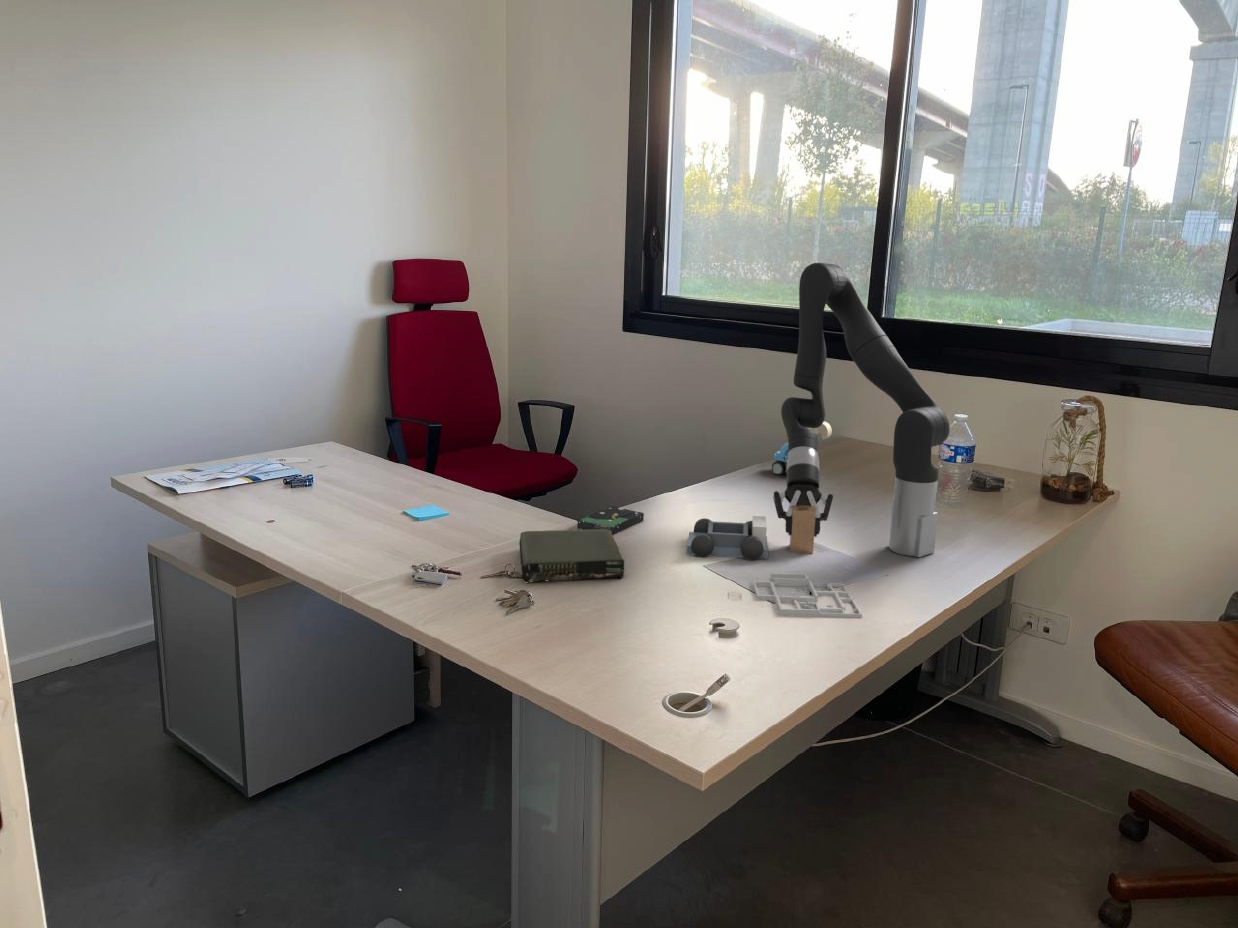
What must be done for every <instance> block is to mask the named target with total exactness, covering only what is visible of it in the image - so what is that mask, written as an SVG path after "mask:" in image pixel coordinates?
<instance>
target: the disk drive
mask: <svg viewBox="0 0 1238 928" xmlns="http://www.w3.org/2000/svg"><path fill="white" fill-rule="evenodd" d="M644 516H645V514H644V512H641V511H635V510H631V509H627V508H624V509H619V507H618V506H613V505H610V506H607V507H604V508H602V509H600V510H598V511H595V512H593V513H590V514H588V515H586V516H582V517H581V518H578V519H577V522H578V523H577V522H576V523H577V530H594V529H605V530H610V531H612V535H613V536H614V534H615V535H617V534H619V533H621V532H624V531H625V530H627V529H630V528H632V527H634V526H636V525H639V524H640V523H643V522H644V520H645V519H644V518H645V517H644ZM583 521H584V522H583ZM579 522H580V523H579ZM618 532H619V533H618Z"/></svg>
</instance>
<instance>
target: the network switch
mask: <svg viewBox="0 0 1238 928" xmlns="http://www.w3.org/2000/svg"><path fill="white" fill-rule="evenodd" d="M518 545H519V555H520V556H519V557H520V569H521V577H522V580H523V582H524V581H525V582H530V581H534V582H538V581H545V580H548V581H550V580H552V581H561V580H562V581H567V580H570V581H572V579H573V580H577V579H578V580H579V581H582V580H585V579H598V578H609V579H610V578H619V579H620V578H621V579H623V578H624V576H625V560H624V558H623V556H622V554H621V552H620V549H619V547H618V545H617V542H616V539H615V537H614V535H612V531H610V530H605V529H594V530H583V529H563V530H562V529H559V530H558V529H557V530H556V529H554V530H526V531H522V532H521V533H520V536H519V543H518ZM581 579H582V580H581ZM525 582H524V583H525ZM545 582H546V581H545ZM530 583H531V582H530Z"/></svg>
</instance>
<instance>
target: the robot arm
mask: <svg viewBox="0 0 1238 928" xmlns="http://www.w3.org/2000/svg"><path fill="white" fill-rule="evenodd" d="M798 289H799V291H798V294H799V295H798V298H799V299H798V301H799V303H798V304H799V307H798V308H799V315H798V317H799V319H798V320H799V321H798V322H799V324H798V325H799V326H798V327H799V329H798V346H797V356H796V362H795V369H794V375H793V385H794V386H795V387H796V388H799V389H801V390H803V391H804V390H805V391H807V392H809V393H810V394H811V398H803V397H795V396H794V397H793V396H791V397H790V396H789V397H788V398H786V399H785V400H784V402H783V403H782V404H781V408H780V411H781V413H780V414H781V421H782V423H783V426H784V429H785V431H786V436H787V441H788V442H787V443H788V459H787V473H786V490H784V491H783V492H779V491H777V490H776V491H774V492H773V503H774V507H775V511H776V515H777V518H778V519H783V520H785V532H786V533H787V534H788V536H790V535H791V534H792V505H796V504H805V505H811V506H815V510H816V516H815V531H814V538H817V536H818V535H820V531H821V522H827V521H828V517H829V514H830V511H831V507H832V503H833V498H834V494H832V493H829V494H824V493H822V491H821V489H820V459H819V438H818V434H816V433H815V432H814V431H813V430H810V429H809V428H818V427H820V426H821V425H822V423H823V422H825V418H826V410H825V409H826V408H825V407H826V406H825V402H824V394H823V393H824V391H823V390H824V389H823V387H824V386H823V385H824V384H823V383H824V376H825V371H826V365H827V363H826V362H827V345H826V341H825V337H824V336H825V334H824V328H823V327H824V324H823V323H824V322H823V321H824V319H823V318H824V313H825V308H826V305H827V307H828V308H829V309H830V311H832V313H833V314H834V316H835V317H836V318H837V320H838V322H839V323H840V325H841V328H842V331H843V336H844V341H845V346H846V349H847V351H848V354H849V355H850V357H851V359H852V361H853V362H854V363H855V365H856V366H857V368H858V370H859V371H860V372H861V374H862V376H863V377H865V378H866V379H867V380H868V381H869V382H870V383H871V384H873V385H874V386H876V387H877V388H878V389H879V390H881V391H882V392H883V393H885V395H887V396H889V397H890V398H891V399H892V400H893V401H894V402H895V403H896V405H897V406H898V408H899V409H900V411H901V412H902V413H901V414H900V415H899V416H898V417H897V420H896V422H895V425H894V433H893V452H892V454H893V455H892V461H893V465H894V469H895V475H894V476H895V477H894V486H893V487H894V488H893V496H892V498H893V499H892V506H891V519H890V531H889V541H888V549H889V550H890V551H892V553H896V554H899V555H903V556H908V557H909V556H910V557H916V558H921V557H923V556H927V555H930V554H933V553H935V548H936V541H937V540H936V539H937V529H938V522H939V521H938V519H939V513H938V512H937V511H936V501H937V490H938V482H939V481H938V480H939V473H940V471H939V467H938V466H937V465H936V464H933V463H932V449H933V448H932V447H936V446H939V445H941V444H943V443H944V442H946V440H947V439H948V438H949V435H950V422H949V419H948V417H947V414H946V413H945V412H944V411H943V409H942V408H941V407H940V405H938V404H937V402H936V401H935V400H934V399H933V397H932V396H931V395H930V394H929V393H928V392H927V391H926V389H924V388H923V386H922V385H921V383H920V382H919V381H918V379H917V378H916V376H915V375H914V374H913V372H912V371H911V369H910V367H908V365H907V363H906V362H905V361H904V360H903V358H902V357H901V355H900V354H899V352H898V350H897V349H896V347H895V346H894V344H893V343H892V341H891V340H890V339H889V336H888V335H887V334H886V333H885V331H884V330H883V329H882V328H881V326H880V325H879V323H878V322H877V321H876V319H875V318H874V316H873V314H872V313H871V312H870V311H869V309H868V308H867V306H866V305H865V303H864V301H862V298H861V296H860V294H859V293H858V291H857V289H856V287H855V285H854V284H853V281H852V280H851V278H850V276H849V274H848V273H847V271H846V270H845V269H844V268H843V267H842V266H840V265H838V264H833V263H825V262H814V263H811V264H809V265H807V266H806V267H805V268H804V270H802V273H801V275H800V278H799V288H798ZM784 498H785V500H787V502H788V503H789V507H788V509H787V511H785V510H784V507H783V503H782V502H783V501H784ZM820 500H821V501H822V504H823V505H824V509H823V512H820V511H819V508H818V505H817V504H818V503H819V501H820Z"/></svg>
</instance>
